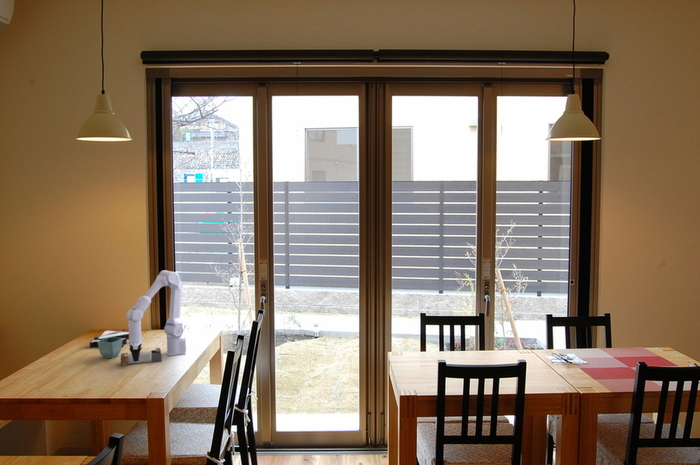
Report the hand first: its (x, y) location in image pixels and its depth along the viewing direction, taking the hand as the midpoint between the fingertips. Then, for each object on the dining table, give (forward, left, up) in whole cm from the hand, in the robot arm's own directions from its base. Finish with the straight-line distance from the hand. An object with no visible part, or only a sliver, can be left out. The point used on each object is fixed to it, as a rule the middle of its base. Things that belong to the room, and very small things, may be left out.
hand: (136, 359), depth 264 cm
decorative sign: (+13, -46, -2) cm, 48 cm away
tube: (-1, 0, -1) cm, 2 cm away
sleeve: (-10, 0, -1) cm, 10 cm away
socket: (+5, 0, -1) cm, 5 cm away
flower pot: (+12, -15, -2) cm, 19 cm away
